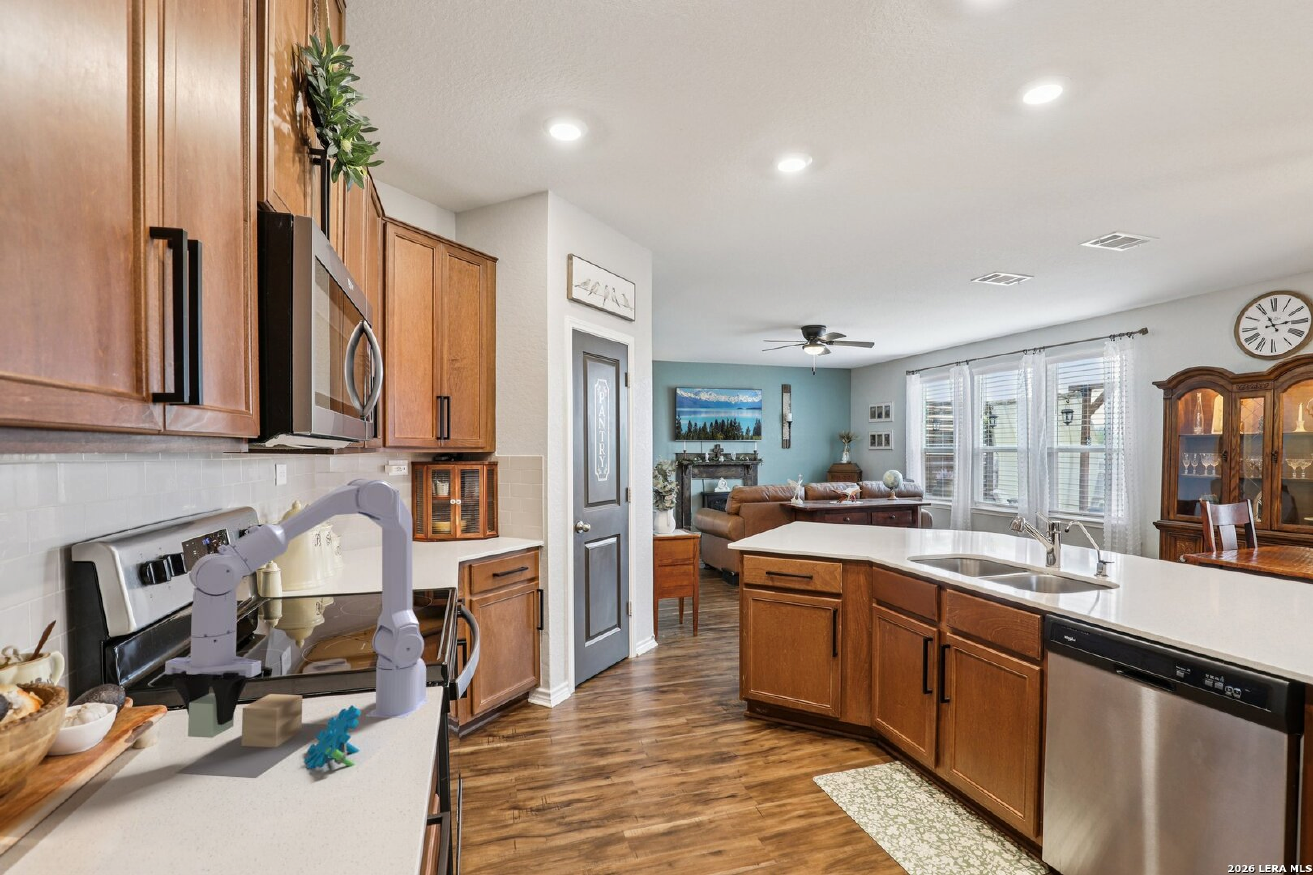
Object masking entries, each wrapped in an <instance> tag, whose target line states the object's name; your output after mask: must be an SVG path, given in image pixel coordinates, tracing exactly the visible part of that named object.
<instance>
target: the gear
mask: <svg viewBox="0 0 1313 875" xmlns="http://www.w3.org/2000/svg"><path fill="white" fill-rule="evenodd" d="M361 712H362V710H360V709H359V708H358V707H355V706H354V705H350V706H349V707H348V709H347V708H343V709H341V710H340V711H339V713H338V716H337V718H336V717H331V718H330V719H329V720H328V721H327V723H326V724H327V725H328V727H327V730H326V731H325V732H324V731H323V730H321V731H320V732H319V733H318V735H317V736H316V738H315V739H317V740H318V743H317V744H316V745H315V744H313V743H312V744H311V745H310V746H309V747H308V749H307V751H306V753H307V754H309V755H308V756H306V758H305V759H304V761H303V764H307V765H306V768H307V769H308V770H313V769H316V768H317V767H318V768H323V767H324V766H326V763H327V760H328V758H330V759H334V761H333V762H334V763H335V764H337V765H338V766H339V765H341V764H344V765H345V766H347V767H353V766H355V765H356V763H355V762H353V761H352V760H350V759H349V758H347V755H348V754H347V753H349V754H357V753H359V752H360V749H358V748H357V747H355V746H354V745H352V744H351V743H350V742H348V741H349V740H350V739H351V737H352V736H351V734H349V733H348V730H349V729H352V730H355V729H356V727H358V725H359V720H358V718H359V717H360V715H361V714H362V713H361Z"/></svg>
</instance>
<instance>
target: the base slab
mask: <svg viewBox="0 0 1313 875" xmlns="http://www.w3.org/2000/svg"><path fill="white" fill-rule="evenodd" d="M302 723H303V713H302V714H300V715H298V716H297V717H295V718H293V719H292V720H290V721H288V722H286V723H285V724H283V725H281V726H280V727H278V728H256V727H242V726H241V735H242V745H241V746H257V747H277V746H279V745H281V744H282V743H284V742H285V741H287V740H288V739H290V738H292V737H293V736H295V735H296V734H298V733H299V732H301V731H302Z"/></svg>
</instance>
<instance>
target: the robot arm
mask: <svg viewBox="0 0 1313 875" xmlns="http://www.w3.org/2000/svg"><path fill="white" fill-rule="evenodd" d="M357 514H359V515H362V516H364V517H366V518H369V519H370V521H372V522H374V523H375V524H376V525H377V526H379V527H380V528H381V538H382V540H381V562H382V564H381V570H382V571H381V586H382V588H381V589H382V590H381V598H382V599H381V600H382V604H381V610H382V611H381V613H380V615H379V616H378V618H377V619H376V620H377V623H376V624H377V625H376V630H375V632H374V634H373V636H372V643H371V644H372V645H371V646H372V649H373V650H374V652H375V653H376V654H377V656H378V657H377V660H376V670H375V671H376V674H375V675H376V677H375V678H376V679H375V680H376V682H375V683H376V684H375V708H373V709H372V710H371V711H369V712H368V713H367V714H365V717H369V718H370V717H372V718H390V719H391V718H392V719H407V718H408V717H410V716H411V715H412V714H414V712H416V711H417V710H418V709H419V708H421V707H422V706H423V705H425V704H426V703H427V702H428V701H429V700H430V699H431V698H430V697H427V667H426V663H425V661H424V660H423V659H422V658H421V656H422V654H423V652H424V649H425V641H424V638H423V636H422V635H421V631H420V622H419V620H418V618H417V616H416V615H415V613H414V611H413V516H412V514H411V512H410V511H409V509H408V508H407V506H406V504H405V502H404V501H403V499H402V498H401V493H400V490H399V489H398V488H396V487H395V486H393V485H392V484H391V483H389V482H387V481H385V480H383V479H378V478H377V479H365V478H355V479H352V480H351V481H349V482H348V483H347V484H343V485H341V486H337V487H336V488H335V489H333V490H331V491H330V492H328V493H326V494H324V495H323V496H321V497H319V498H318V499H317V500H315V501H314V502H312V503H310V504H308V505H307V506H305V507H304V508H302V509H301V510H298V512H297V513H294V514H293V515H291V516H290V517H289V518H287V519H285V520H283V521H282V522H281V523H279V524H277V525H275V524H270V523H264V524H262V525H260V526H259V525H257V524H255V525H252V526H251V527H249V528H247V530H248V533H246V534H244V535H243V536H241V537H240V538H238V539H236V540H234V541H232V542H231V543H230V544H227V545H226V544H221V545H220V546H218V547H217V550H218V552H219V553H209V554H206V555H204V556H202V557H200V558H198V560H196V562H194V565H192V568H191V570H190V572H189V573H188V577H189V578H188V579H189V581H190V583H191V584H192V585H193V586H194V587H195V588H193V594H192V600H193V603H192V605H191V623H190V624H191V630H190V632H191V633H190V657H189V656H188V657H175V658H173V659H172V658H171V659H169V660H166V661H165V663H164V664H165V665H164V666H165V668H164V674H165V675H174V674H180V676H179V678H176V679H174V680H173V681H172V686H173V688H175V690H176V691H177V692H178V694H179V695H180V697H181V699H182V702H183V704H184V705H185V709H186V711H187V715H188V716H189V703H190V702H192V701H195V700H197V699H199V698H201V697H203V696H206V695H208V694H210V693H209V692H210V689H212V690H213V693H214V694H215V698H216V705H217V722H218V725H223V724H225V723H227V722H229V721H231V720H232V719H233V715H234V716H235V710H236V708H237V705H238V702H239V699H240V697H241V695H242V693H243V690H244V688H245V687H246V685H247V683H248V681H249V680H250V678H253V677H255V676H257V675H259V674H261V673H262V660H257V659H249V658H247V657H241V656H237V630H238V629H237V624H238V616H237V615H238V600H237V587H239V585H240V584H241V583H242V581H243V577H245V576H249V575H251V574H253V573H254V572H256V571H258V569H260V568H263V566H266V565H267V564H269V563H271V561H273V560H275V559H276V558H278V557H280V556H282V555H284V554H285V553H286V552H287V550H288V548H289V544H290V541H292V540H294V539H296V538H297V537H299V536H300V535H303V534H304V533H306V532H308V531H310V530H311V529H313V528H315V527H317V526H319V525H320V524H323V523H325V522H326V521H327V520H330V519H331V518H332V517H334V516H338V515H339V516H340V515H341V516H342V515H357ZM214 675H222V676H221V677H218V678H216V679H214V680H213V678H214Z"/></svg>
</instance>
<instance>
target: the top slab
mask: <svg viewBox="0 0 1313 875" xmlns="http://www.w3.org/2000/svg"><path fill="white" fill-rule="evenodd" d="M300 714H302V715H303V695H299V694H297V695H296V694H279V693H278V694H276V693H269V694H268V695H266V696H263V697H261V698H259V699H257V700H256V701H253V702H251V703H250V704H247V705H246V706H244V707H242V717H241V718H242V721H241V723H242V724H241V728H242V727H256V728H278V727H280V726H281V725H283V724H285V723H286V722H288V721H290V720H292V719H293V718H295V717H297V716H298V715H300Z"/></svg>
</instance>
